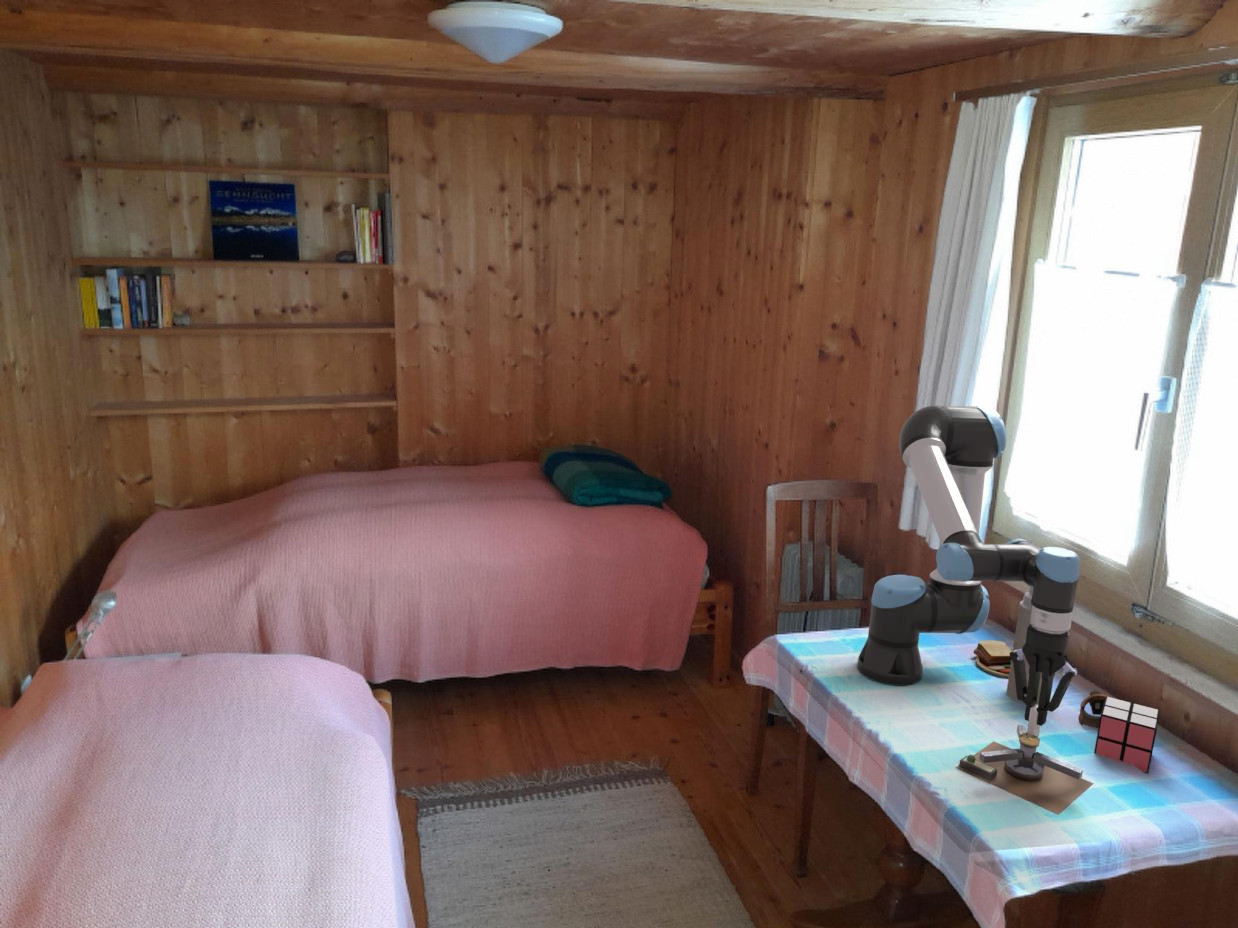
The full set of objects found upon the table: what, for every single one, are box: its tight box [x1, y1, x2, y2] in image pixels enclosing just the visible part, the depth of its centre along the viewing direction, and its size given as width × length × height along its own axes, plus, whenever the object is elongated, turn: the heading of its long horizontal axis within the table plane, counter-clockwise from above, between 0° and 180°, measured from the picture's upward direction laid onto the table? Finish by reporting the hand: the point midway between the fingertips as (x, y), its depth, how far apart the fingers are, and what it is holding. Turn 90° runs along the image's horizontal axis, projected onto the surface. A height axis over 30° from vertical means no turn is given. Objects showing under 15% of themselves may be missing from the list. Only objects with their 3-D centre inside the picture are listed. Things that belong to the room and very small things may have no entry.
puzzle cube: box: [1093, 696, 1161, 774], centre depth 194 cm, size 10×10×10 cm
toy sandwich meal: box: [972, 639, 1013, 679], centre depth 234 cm, size 12×14×5 cm
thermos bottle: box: [1006, 586, 1042, 705], centre depth 216 cm, size 8×8×28 cm
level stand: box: [955, 740, 1094, 815], centre depth 184 cm, size 20×16×4 cm
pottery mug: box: [1077, 689, 1112, 729], centre depth 207 cm, size 12×10×8 cm
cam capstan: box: [979, 724, 1084, 781], centre depth 185 cm, size 16×18×8 cm
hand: (1032, 736), depth 190 cm, fingers closed
